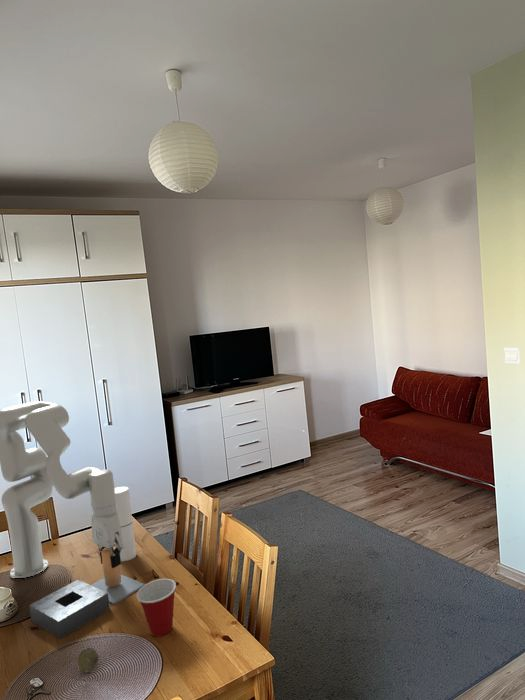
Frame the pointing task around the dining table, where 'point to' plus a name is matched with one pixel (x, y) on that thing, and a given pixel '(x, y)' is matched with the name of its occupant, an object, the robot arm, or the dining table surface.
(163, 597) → the plastic cup
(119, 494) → the cylindrical container
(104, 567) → the orange rounded cylinder
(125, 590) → the mat
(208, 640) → the dining table surface
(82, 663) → the lime
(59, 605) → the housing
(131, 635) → the dining table surface
